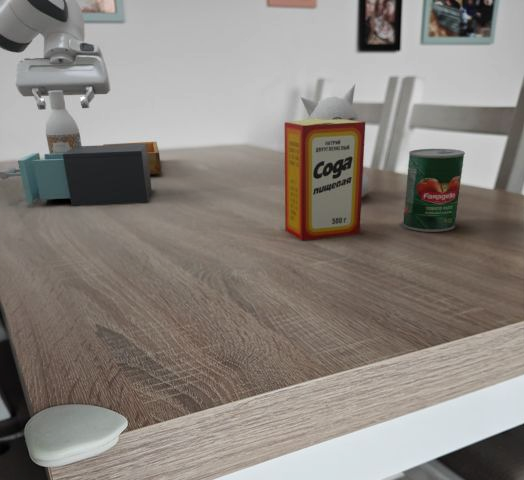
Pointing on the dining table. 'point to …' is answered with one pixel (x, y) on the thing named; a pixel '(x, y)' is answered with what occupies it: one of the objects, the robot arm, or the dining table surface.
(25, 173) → the drawer
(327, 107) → the decorative figurine
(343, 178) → the baking soda box
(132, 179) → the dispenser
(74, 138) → the bath foam
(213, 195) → the dining table surface
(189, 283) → the dining table surface
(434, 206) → the canned tomato
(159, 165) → the tray
